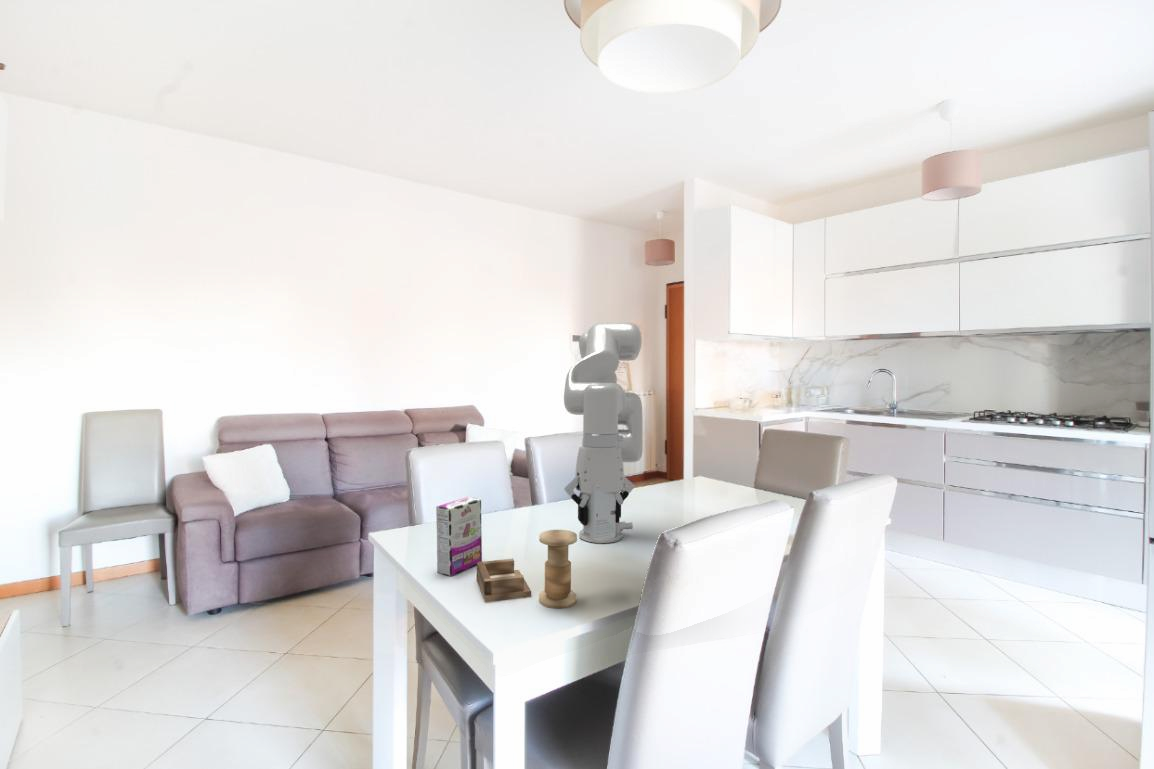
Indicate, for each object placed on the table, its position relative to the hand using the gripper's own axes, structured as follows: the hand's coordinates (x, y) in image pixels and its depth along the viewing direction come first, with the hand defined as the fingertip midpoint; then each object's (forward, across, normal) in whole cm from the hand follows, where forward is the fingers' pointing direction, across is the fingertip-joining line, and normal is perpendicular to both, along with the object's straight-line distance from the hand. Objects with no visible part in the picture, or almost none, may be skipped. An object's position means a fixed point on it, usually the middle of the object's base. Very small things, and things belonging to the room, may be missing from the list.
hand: (599, 521), depth 120 cm
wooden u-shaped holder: (+16, +19, -10) cm, 27 cm away
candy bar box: (+16, +28, -25) cm, 40 cm away
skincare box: (+3, 0, 0) cm, 3 cm away
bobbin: (+16, +9, 0) cm, 19 cm away
